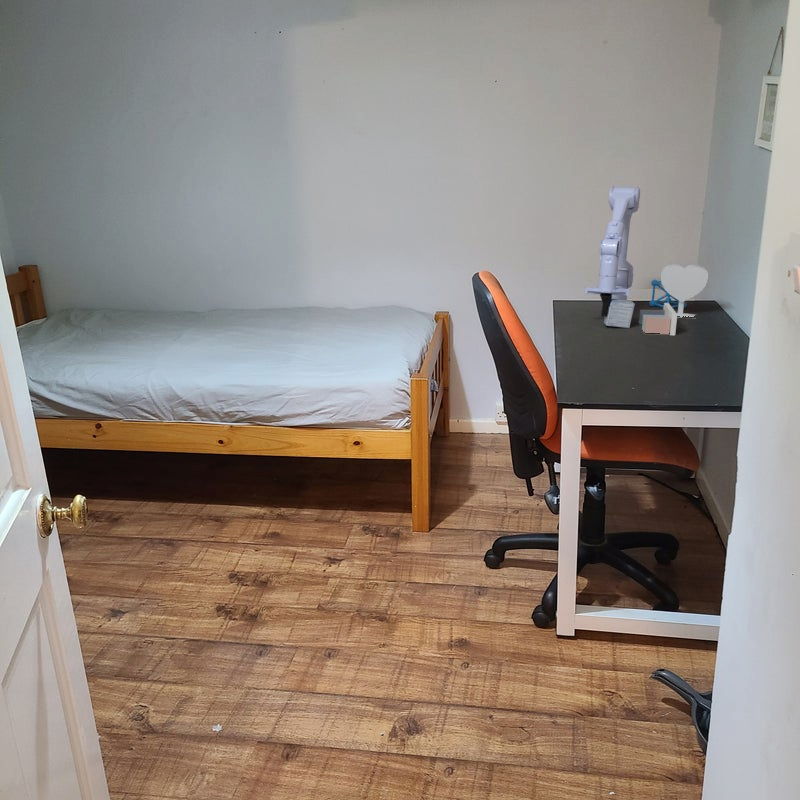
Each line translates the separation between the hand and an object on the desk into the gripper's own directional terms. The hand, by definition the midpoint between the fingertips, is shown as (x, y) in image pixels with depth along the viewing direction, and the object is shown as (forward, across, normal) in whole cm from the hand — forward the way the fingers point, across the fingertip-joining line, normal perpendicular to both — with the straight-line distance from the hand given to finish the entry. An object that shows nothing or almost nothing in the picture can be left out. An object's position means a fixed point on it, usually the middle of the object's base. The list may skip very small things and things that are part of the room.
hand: (604, 315), depth 271 cm
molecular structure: (+2, +26, +32) cm, 41 cm away
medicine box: (+3, +4, +1) cm, 6 cm away
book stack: (+4, +17, 0) cm, 17 cm away
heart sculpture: (+3, +28, +18) cm, 34 cm away
